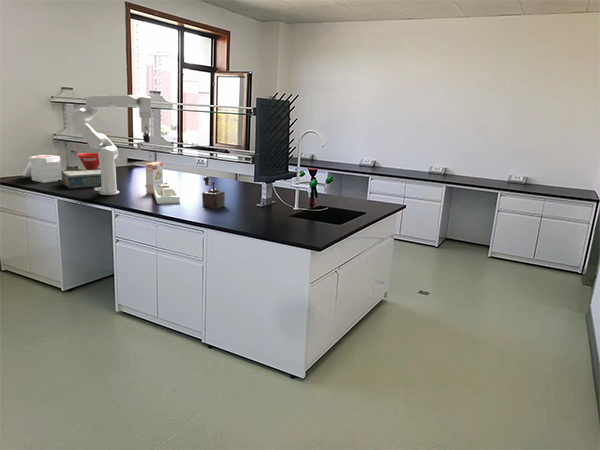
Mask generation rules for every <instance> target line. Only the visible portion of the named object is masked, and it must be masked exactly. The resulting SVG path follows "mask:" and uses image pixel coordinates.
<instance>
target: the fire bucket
mask: <svg viewBox="0 0 600 450" xmlns="http://www.w3.org/2000/svg"><path fill="white" fill-rule="evenodd" d="M85 143H86V141H83V142H82V143H81V144H80V145H78V146H77V149H76V151H75V154H76V156H77V157H78V159H79V161H80V162H81V165H83V167H84V169H85V170H98V168H100V167H99V166H100V162H99V157H98V154H99V152H97V153H96V152H86V153H85V152H84V153H83V152H81V153H78V150H79V147H80V146H81V145H83V144H85Z"/></svg>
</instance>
